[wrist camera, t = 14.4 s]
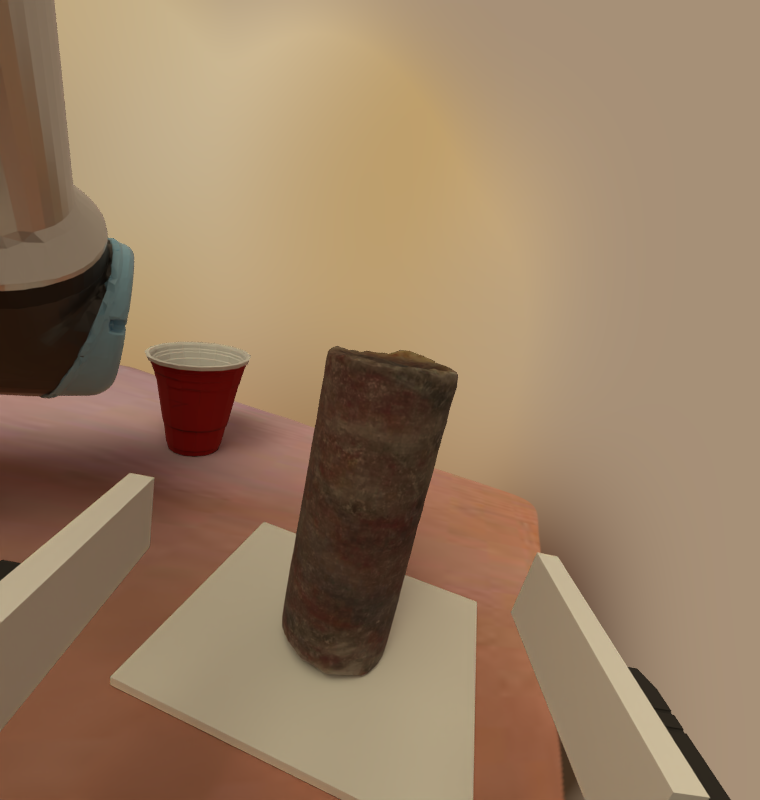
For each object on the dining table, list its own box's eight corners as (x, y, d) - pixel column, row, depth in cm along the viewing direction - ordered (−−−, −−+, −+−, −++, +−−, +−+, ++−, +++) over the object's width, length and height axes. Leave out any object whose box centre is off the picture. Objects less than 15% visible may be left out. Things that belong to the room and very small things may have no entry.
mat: (109, 684, 22) (110, 676, 21) (263, 527, 37) (263, 521, 36) (468, 862, 18) (471, 855, 18) (474, 607, 33) (476, 601, 33)
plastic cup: (145, 424, 50) (150, 332, 46) (235, 428, 55) (245, 344, 51) (133, 468, 41) (138, 356, 37) (243, 467, 46) (256, 369, 42)
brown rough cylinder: (267, 682, 23) (330, 351, 17) (281, 586, 30) (330, 326, 24) (392, 688, 24) (491, 383, 18) (379, 594, 31) (447, 351, 25)
